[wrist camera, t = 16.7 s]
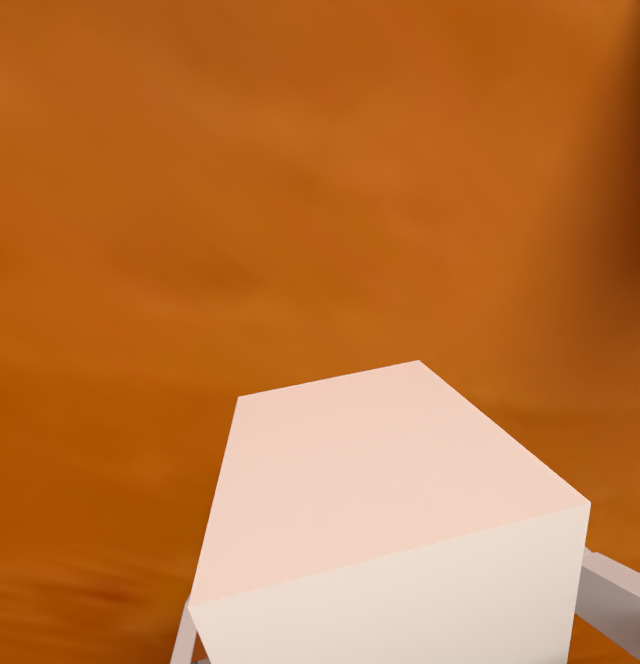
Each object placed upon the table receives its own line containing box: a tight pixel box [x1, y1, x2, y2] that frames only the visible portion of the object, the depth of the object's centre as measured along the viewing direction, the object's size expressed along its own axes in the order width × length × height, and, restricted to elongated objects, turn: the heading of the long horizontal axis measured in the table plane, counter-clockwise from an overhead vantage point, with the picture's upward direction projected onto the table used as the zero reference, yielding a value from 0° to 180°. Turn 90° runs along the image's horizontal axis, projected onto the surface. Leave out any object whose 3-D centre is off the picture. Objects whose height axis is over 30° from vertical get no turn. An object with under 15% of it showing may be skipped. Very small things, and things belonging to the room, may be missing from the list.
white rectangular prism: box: [188, 360, 591, 664], centre depth 9 cm, size 7×7×7 cm
